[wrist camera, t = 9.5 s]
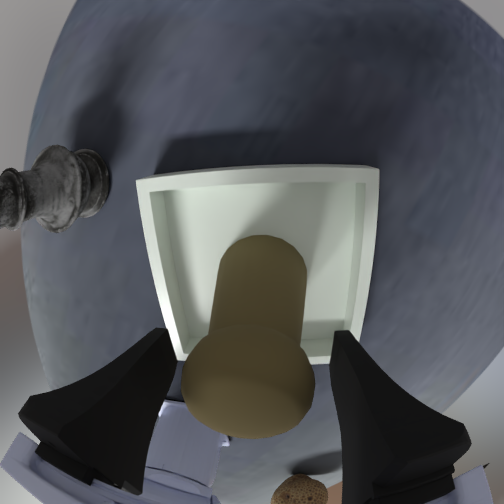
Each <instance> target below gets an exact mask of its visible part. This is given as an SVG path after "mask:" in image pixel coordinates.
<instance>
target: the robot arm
mask: <svg viewBox="0 0 504 504" xmlns="http://www.w3.org/2000/svg"><path fill="white" fill-rule="evenodd" d="M177 362H178V360H177V357H176V354H175V351H174V348H173V344H172V341H171V338H170V334H169V331H168V329H165V328H155V329H154V330H152V331H151V332H150V333H148V334H147V335H146V336H144V337H143V338H142V339H141V340H139V341H138V342H137V343H136V344H134V345H133V346H132V347H131V348H129V349H128V350H127V351H126V352H124V353H123V354H122V355H120V356H119V357H117V358H116V359H115V360H113V361H112V362H110V363H109V364H108V365H106V366H104V367H103V368H101V369H100V370H98V371H96V372H95V373H93V374H91V375H89V376H87V377H85V378H83V379H81V380H79V381H77V382H75V383H72V384H70V385H68V386H65V387H62V388H59V389H56V390H53V391H50V392H46V393H42V394H38V395H33V396H30V397H29V399H28V400H27V402H26V403H25V404H24V406H23V407H22V409H21V410H20V412H19V413H18V414H19V418H20V419H21V421H22V422H23V423H24V424H25V425H26V426H27V427H28V429H30V431H31V432H32V433H33V434H34V435H35V436H36V437H37V438H38V439H39V440H40V441H41V442H40V444H39V445H38V444H37V443H35V442H34V441H33V440H31V439H30V438H28V437H27V436H26V435H24V434H23V433H21V432H19V434H18V435H17V437H16V438H15V440H14V441H13V443H12V445H11V446H10V448H9V450H8V451H7V453H6V454H5V456H4V458H3V460H2V461H1V463H0V466H1V467H2V468H3V469H4V470H5V471H6V472H7V473H8V474H9V475H11V477H13V478H14V479H15V480H16V481H17V482H18V483H20V484H21V485H22V486H23V487H24V488H25V489H26V490H27V491H28V492H30V493H31V494H32V495H33V496H34V497H36V498H37V499H38V500H39V501H41V502H42V503H43V504H221V503H220V501H219V500H218V498H217V497H216V496H215V495H212V490H213V489H212V488H209V487H211V485H212V484H213V482H214V480H215V476H216V471H217V466H218V461H219V456H220V451H221V446H229V444H230V442H229V439H228V435H225V434H222V433H219V432H217V431H214V430H212V429H210V428H209V427H207V426H206V425H204V424H202V423H201V422H199V421H198V420H197V419H196V418H195V417H194V416H193V415H192V414H191V413H190V412H189V410H188V408H187V406H186V403H184V402H177V401H171V400H165V398H166V395H167V393H168V391H169V388H170V386H171V383H172V381H173V378H174V374H175V370H176V366H177ZM329 367H330V378H331V386H332V391H333V396H334V401H335V405H336V410H337V415H338V420H339V425H340V431H341V442H342V464H343V487H342V488H343V489H342V504H493V500H492V496H491V492H490V488H489V485H488V481H487V478H486V475H485V472H484V469H483V466H482V465H480V466H478V467H476V468H474V469H472V470H470V471H468V472H466V473H464V474H462V475H460V476H458V477H456V478H454V479H453V478H452V473H454V471H455V469H454V466H453V464H454V463H455V462H456V461H457V460H458V459H459V458H461V457H462V456H463V455H464V454H465V453H466V452H467V451H468V450H469V448H470V446H471V444H472V443H471V440H470V437H469V435H468V432H467V430H466V428H465V426H464V424H463V423H461V422H458V421H456V420H453V419H451V418H449V417H447V416H444V415H442V414H440V413H439V412H437V411H435V410H433V409H431V408H430V407H428V406H426V405H425V404H423V403H422V402H420V401H419V400H417V399H416V398H414V397H413V396H411V395H410V394H409V393H407V392H406V391H405V390H404V389H402V388H401V387H400V386H399V385H398V384H396V383H395V382H394V381H393V380H392V379H391V378H390V377H389V376H388V375H387V374H386V373H385V372H384V371H383V370H382V369H381V368H380V367H379V366H378V365H377V364H376V362H375V361H374V360H373V359H372V358H371V357H370V356H369V354H368V353H367V352H366V351H365V350H364V348H363V347H362V346H361V345H360V343H359V342H358V341H357V340H356V338H355V337H354V336H353V334H352V333H351V332H350V331H349V330H338V331H335V332H334V338H333V345H332V351H331V357H330V363H329ZM158 415H159V417H160V418H159V421H158V423H157V426H156V429H155V431H154V434H153V436H152V433H153V429H154V426H155V422H156V420H157V417H158ZM151 437H152V439H151ZM150 441H151V442H150Z"/></svg>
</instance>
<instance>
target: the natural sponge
mask: <svg viewBox="0 0 504 504" xmlns="http://www.w3.org/2000/svg"><path fill="white" fill-rule="evenodd" d="M327 501H328V492H327V489H326V487H325V486H324V484H323V483H321V482H320V481H318V480H315V479H311V478H310V477H309V476H307V475H304V474H296V475H293V476H291V477H289V478H288V479H286V480H285V481H284V482H283V483H282V484H281V485H280V486H279V487H278V488H277V489H276V491H275V492H274V494H273V496H272V499H271V504H326V503H327Z"/></svg>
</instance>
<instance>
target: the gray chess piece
mask: <svg viewBox="0 0 504 504" xmlns="http://www.w3.org/2000/svg"><path fill="white" fill-rule="evenodd" d="M108 190H109V175H108V169H107V167H106V164H105V162H104V160H103V159H102V158H101V156H100V155H99V154H98V153H96V152H95V151H93V150H90V149H80V150H78V151H76V152H74V153H73V152H72V151H69V150H68V149H67V148H65V147H64V146H60V145H52V146H48V147H47V148H45V149H44V150H42V151H41V153H40V154H39V155H38V156H37V157H36V159H35V161H34V163H33V165H32V168H31V170H28V171H22V172H18V171H17V170H16V169H14V168H8V169H6V170H4V171H3V173H2V174H1V176H0V229H1V228H3V227H6V228H7V229H9V230H12V231H14V230H17V229H19V227H20V226H21V225H22V223H23V222H24V221H27V220H30V219H32V218H36V220H37V221H38V223H39V224H40V225H41V226H42V227H43V228H44V229H46V230H48V231H50V232H54V233H59V232H63V231H65V230H67V229H68V228H69V227H70V226H72V224H73V223H74V221H75V220H76V219H77V218H78V217H82V218H87V217H90V216H93V215H95V214H96V213H97V212H99V210H100V209H101V208H102V207H103V205H104V203H105V201H106V198H107V195H108Z"/></svg>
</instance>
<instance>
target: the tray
mask: <svg viewBox="0 0 504 504" xmlns="http://www.w3.org/2000/svg"><path fill="white" fill-rule="evenodd" d="M136 185H137V193H138V199H139V206H140V212H141V218H142V224H143V230H144V235H145V240H146V246H147V251H148V255H149V260H150V265H151V269H152V274H153V278H154V282H155V287H156V291H157V295H158V299H159V303H160V306H161V310H162V314H163V317H164V321H165V325H166V328H167V329H168V331H169V334H170V338H171V341H172V344H173V348H174V351H175V354H176V357H177V360H182V361H186V359H187V357H188V355H189V354H190V353H191V351H192V350H193V349H194V347H195V346H196V345H197V344H198V342H199V341H200V340H201V339H202V338H203V337H205V336H207V335H208V331H209V324H210V318H211V311H212V305H213V298H214V292H215V286H216V280H217V274H218V269H219V264H220V260H221V258H222V256H223V255H224V253H225V252H226V250H227V249H228V248H229V247H230V246H232V245H233V244H234V243H235V242H237V241H238V240H240V239H243V238H246V237H249V236H252V235H270V236H274V237H277V238H281V239H283V240H285V241H286V242H288V243H289V244H291V245H292V246H294V247H295V248H296V250H297V251H298V252H299V253H300V255H301V256H302V257H303V259H304V262H305V265H306V268H307V287H306V298H305V308H304V318H303V327H302V336H301V344H300V347H301V348H302V349H303V350H304V351H305V353H306V355H307V357H308V359H309V361H310V364H329V363H330V357H331V351H332V345H333V338H334V332H335V331H338V330H349V331H350V332H351V333H352V334H353V336H354V337H355V338H356V340H357V341H358V342H359V339H360V335H361V330H362V325H363V320H364V315H365V310H366V304H367V298H368V292H369V286H370V279H371V272H372V265H373V257H374V248H375V239H376V228H377V214H378V197H379V169H377V168H374V167H370V166H367V165H345V164H278V165H253V166H236V167H222V168H210V169H199V170H189V171H180V172H172V173H164V174H156V175H151V176H148V177H145V178H142V179H138V180H136Z"/></svg>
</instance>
